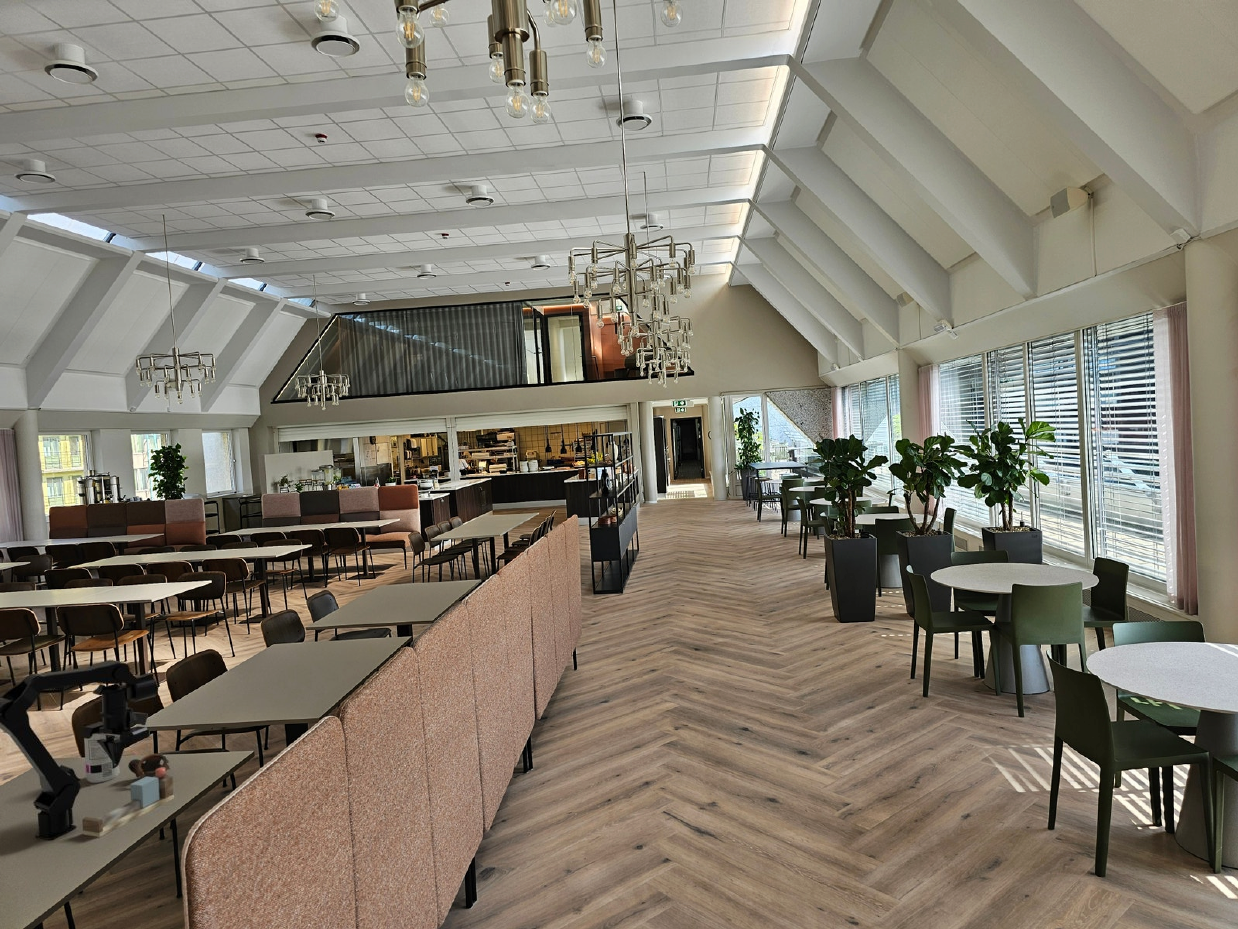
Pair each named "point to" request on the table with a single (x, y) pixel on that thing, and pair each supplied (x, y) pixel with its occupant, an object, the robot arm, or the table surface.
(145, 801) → the light blue block
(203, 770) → the table surface
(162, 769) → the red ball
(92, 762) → the supplement can
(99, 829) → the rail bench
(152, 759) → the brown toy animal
